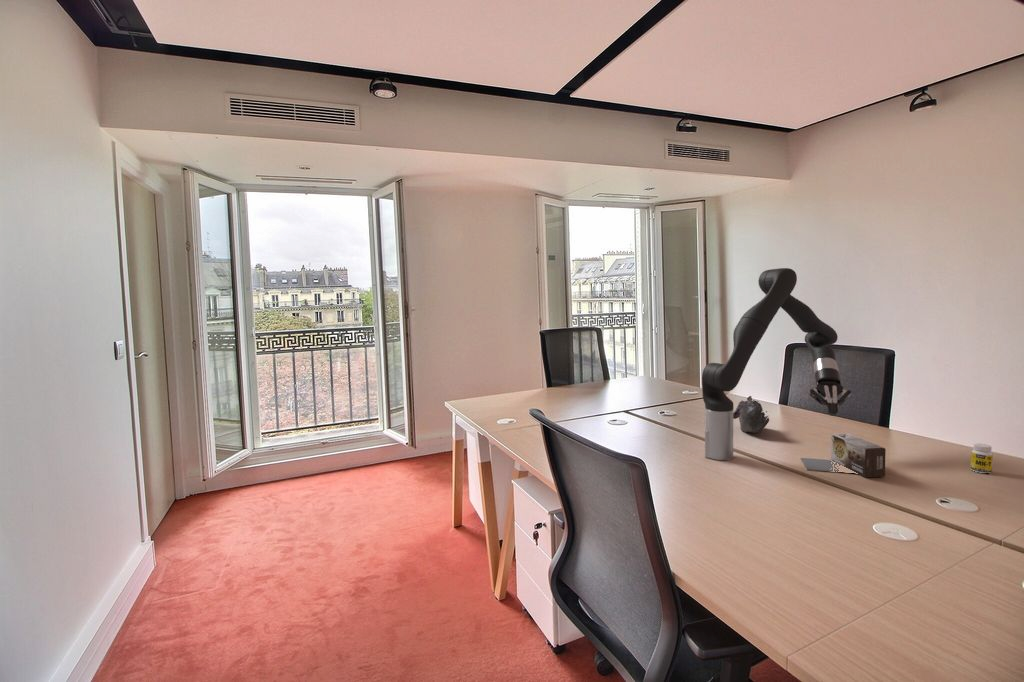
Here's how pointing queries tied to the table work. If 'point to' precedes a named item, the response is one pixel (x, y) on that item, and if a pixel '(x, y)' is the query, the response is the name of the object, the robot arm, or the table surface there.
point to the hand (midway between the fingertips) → (833, 414)
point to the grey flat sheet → (819, 464)
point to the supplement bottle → (981, 458)
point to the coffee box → (858, 455)
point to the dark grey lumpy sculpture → (751, 416)
